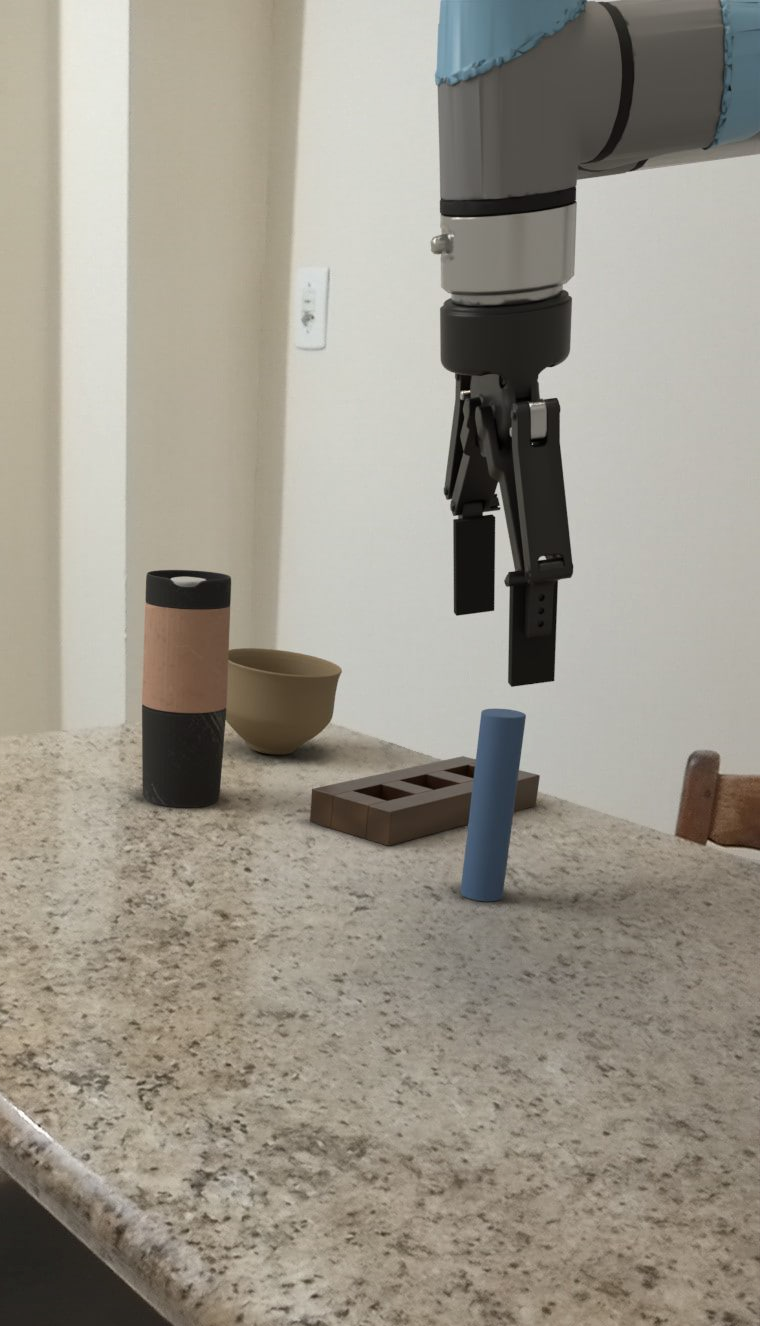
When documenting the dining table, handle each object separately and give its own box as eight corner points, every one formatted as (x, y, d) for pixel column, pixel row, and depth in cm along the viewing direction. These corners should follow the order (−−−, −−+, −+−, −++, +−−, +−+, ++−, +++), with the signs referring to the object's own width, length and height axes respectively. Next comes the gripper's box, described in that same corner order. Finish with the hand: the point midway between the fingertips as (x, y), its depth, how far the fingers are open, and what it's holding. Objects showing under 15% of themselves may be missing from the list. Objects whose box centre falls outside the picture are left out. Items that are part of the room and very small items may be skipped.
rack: (536, 805, 130) (540, 775, 129) (388, 846, 116) (391, 811, 115) (459, 785, 136) (462, 756, 135) (309, 821, 122) (311, 788, 121)
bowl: (314, 771, 139) (322, 672, 135) (198, 755, 143) (202, 659, 139) (349, 747, 150) (356, 654, 146) (240, 733, 154) (244, 642, 150)
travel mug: (184, 782, 132) (192, 568, 125) (239, 800, 127) (250, 577, 120) (122, 794, 127) (127, 571, 120) (176, 813, 122) (184, 582, 115)
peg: (510, 896, 105) (534, 714, 100) (486, 904, 103) (509, 719, 98) (476, 885, 107) (498, 706, 102) (451, 893, 105) (472, 711, 100)
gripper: (395, 275, 90) (403, 593, 101) (501, 332, 69) (496, 725, 80) (508, 261, 90) (503, 580, 101) (648, 314, 69) (622, 708, 81)
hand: (500, 645), depth 91 cm, fingers open, 13 cm apart
